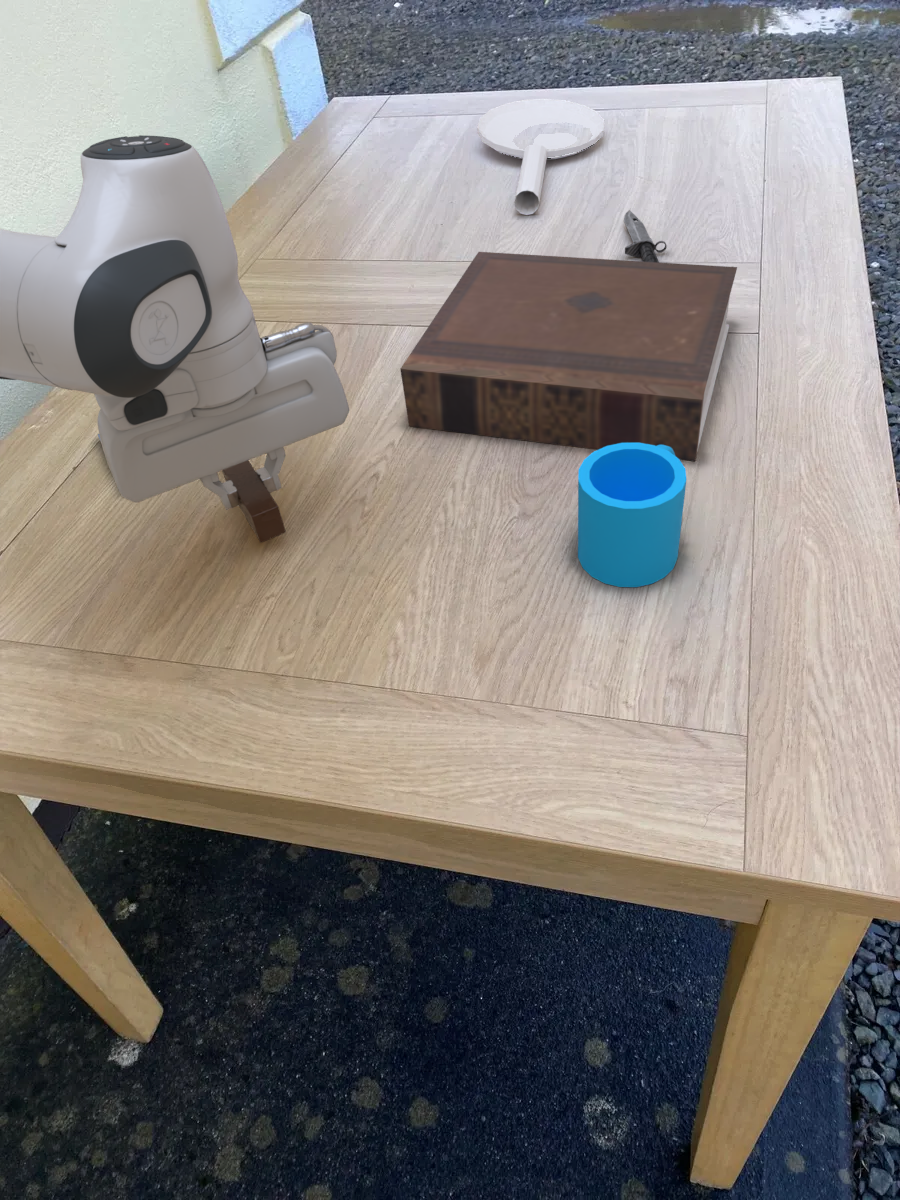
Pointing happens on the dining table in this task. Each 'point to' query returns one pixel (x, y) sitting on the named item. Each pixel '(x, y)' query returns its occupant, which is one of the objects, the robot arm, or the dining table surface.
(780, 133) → the dining table surface
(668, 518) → the mug
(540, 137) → the frying pan
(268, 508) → the butter knife
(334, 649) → the dining table surface
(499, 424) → the book
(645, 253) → the knife
